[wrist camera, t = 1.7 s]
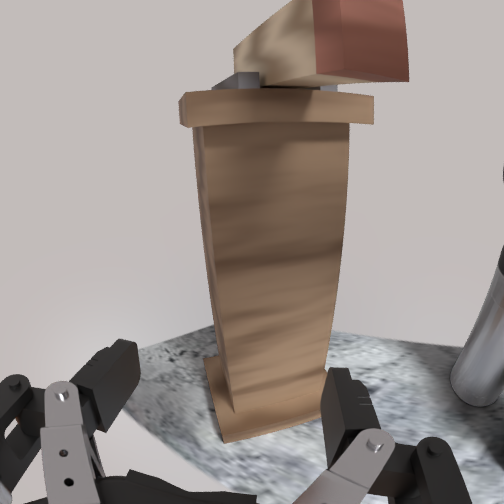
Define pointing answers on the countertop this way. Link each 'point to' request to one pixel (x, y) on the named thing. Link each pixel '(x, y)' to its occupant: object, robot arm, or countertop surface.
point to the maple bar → (327, 44)
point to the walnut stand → (271, 241)
